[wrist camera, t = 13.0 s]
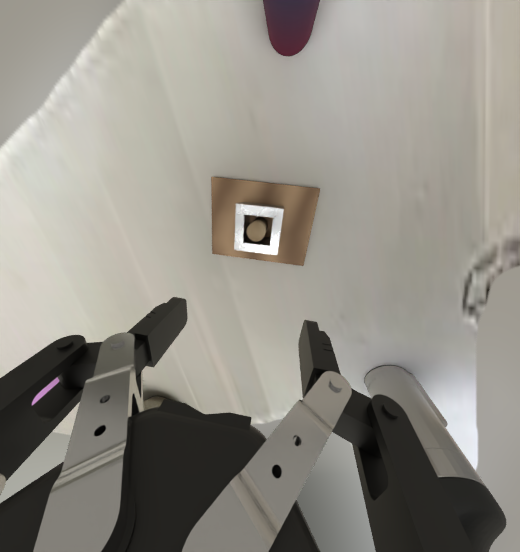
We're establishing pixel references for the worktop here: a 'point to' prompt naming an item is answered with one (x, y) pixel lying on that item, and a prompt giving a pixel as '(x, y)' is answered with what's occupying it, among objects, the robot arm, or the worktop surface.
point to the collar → (243, 222)
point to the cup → (290, 23)
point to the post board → (263, 195)
